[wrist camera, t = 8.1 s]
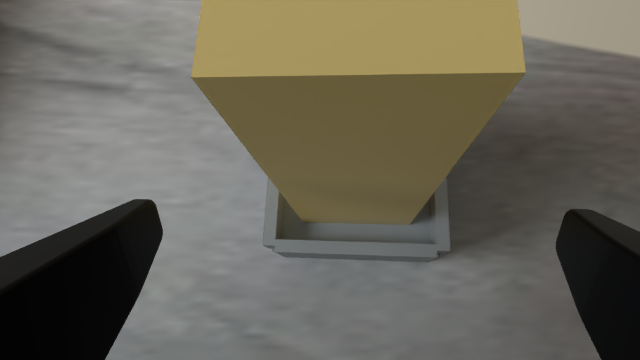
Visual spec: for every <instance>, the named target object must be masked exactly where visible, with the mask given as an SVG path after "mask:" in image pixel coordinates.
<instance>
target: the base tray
mask: <svg viewBox="0 0 640 360" xmlns="http://www.w3.org/2000/svg"><path fill="white" fill-rule="evenodd" d="M263 246H265V247H267V248H271V249H272V251H274V252H276V253H278V254H280V255H282V256H284V257H300V258H328V259H357V260H386V261H415V262H429V261H431V260H433V259H436V258H438V257H440V254H445V253H448V252H450V230H449V210H448V189H447V176H446V177H445V179H444V180H443V181H442V183H441V184H440V185H439V187H438V188H437V189H436V191H435V192H434V193H433V194H432V196H431V197H430V198H429V200H428V201H427V202H426V204H425V205H424V206H423V208H422V209H421V210H420V212H419V213H418V214H417V215H416V217H415V218H414V219H413V221H412V222H411V223H410V225H390V224H346V223H303V221H302V220H301V219H300V217H299V216H298V215H297V214H296V212H295V211H294V210H293V208H292V207H291V206H290V204H289V203H288V202H287V201H286V199H285V198H284V197H283V195H282V194H281V193H280V192H279V190H278V189H277V188H276V186H275V185H274V184H273V182H272V181H271V180H270V179H269V177H268V183H267V196H266V208H265V221H264V233H263Z"/></svg>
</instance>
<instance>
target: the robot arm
mask: <svg viewBox="0 0 640 360" xmlns="http://www.w3.org/2000/svg"><path fill="white" fill-rule="evenodd" d="M162 236H163V229H162V225H161V222H160V218H159V214H158V211H157V207H156V204H155V203H154V202H153V201H152V200H149V199H135V200H132V201H129V202H127V203H125V204H122V205H120V206H118V207H115V208H113V209H111V210H108V211H106V212H104V213H101V214H99V215H97V216H95V217H92V218H90V219H88V220H85V221H83V222H81V223H78V224H76V225H74V226H71V227H69V228H67V229H64V230H62V231H60V232H57V233H55V234H53V235H51V236H48V237H46V238H44V239H41V240H39V241H37V242H34V243H32V244H30V245H27V246H25V247H23V248H20V249H18V250H16V251H13V252H11V253H9V254H7V255H4V256H2V257H0V360H105V359H106V357H107V355H108V353H109V351H110V349H111V347H112V345H113V344H114V342H115V340H116V338H117V336H118V334H119V332H120V330H121V329H122V327H123V325H124V323H125V321H126V319H127V317H128V315H129V314H130V312H131V310H132V308H133V306H134V304H135V302H136V300H137V298H138V296H139V294H140V292H141V290H142V287H143V285H144V282H145V280H146V277H147V275H148V273H149V270H150V268H151V265H152V263H153V260H154V258H155V255H156V253H157V250H158V248H159V245H160V243H161V240H162ZM556 252H557V255H558V258H559V260H560V263H561V266H562V269H563V271H564V274H565V277H566V280H567V282H568V285H569V288H570V291H571V294H572V296H573V299H574V302H575V305H576V307H577V310H578V312H579V315H580V317H581V319H582V321H583V323H584V325H585V328H586V330H587V332H588V334H589V336H590V338H591V340H592V342H593V344H594V346H595V348H596V350H597V352H598V354H599V356H600V358H601V360H640V232H639V231H637V230H634V229H632V228H630V227H628V226H626V225H623V224H621V223H619V222H617V221H615V220H612V219H610V218H608V217H606V216H604V215H602V214H599V213H597V212H595V211H593V210H588V209H570V210H568V211H567V212H566V213H565V215H564V218H563V221H562V224H561V227H560V231H559V234H558V237H557V240H556Z"/></svg>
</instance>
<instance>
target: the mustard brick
mask: <svg viewBox="0 0 640 360" xmlns="http://www.w3.org/2000/svg"><path fill="white" fill-rule="evenodd" d="M525 73H526V71H525V63H524V54H523V45H522V37H521V28H520V20H519V11H518V3H517V0H202V5H201V12H200V19H199V26H198V33H197V40H196V47H195V54H194V61H193V68H192V75H191V78H192V79H193V80H194V82H195V83H196V84H197V85H198V87H199V88H200V89H201V91H202V92H203V93H204V95H205V96H206V97H207V98H208V100H209V101H210V102H211V104H212V105H213V106H214V107H215V109H216V110H217V111H218V113H219V114H220V115H221V117H222V118H223V119H224V120H225V122H226V123H227V124H228V126H229V127H230V128H231V129H232V131H233V132H234V133H235V135H236V136H237V137H238V139H239V140H240V141H241V142H242V144H243V145H244V146H245V148H246V149H247V150H248V151H249V153H250V154H251V155H252V157H253V158H254V159H255V160H256V162H257V163H258V164H259V166H260V167H261V168H262V170H263V171H264V172H265V173H266V175H267V176H268V177H269V179H270V180H271V181H272V182H273V184H274V185H275V186H276V188H277V189H278V190H279V192H280V193H281V194H282V195H283V197H284V198H285V199H286V201H287V202H288V203H289V204H290V206H291V207H292V208H293V210H294V211H295V212H296V214H297V215H298V216H299V217H300V219H301V220H302V221H303V223H346V224H390V225H410V223H411V222H412V221H413V219H414V218H415V217H416V215H417V214H418V213H419V212H420V210H421V209H422V208H423V206H424V205H425V204H426V202H427V201H428V200H429V198H430V197H431V196H432V194H433V193H434V192H435V191H436V189H437V188H438V187H439V185H440V184H441V183H442V181H443V180H444V179H445V177H446V176H447V175H448V174H449V172H450V171H451V170H452V168H453V167H454V166H455V164H456V163H457V162H458V160H459V159H460V158H461V157H462V155H463V154H464V153H465V151H466V150H467V149H468V147H469V146H470V145H471V143H472V142H473V141H474V139H475V138H476V137H477V136H478V134H479V133H480V132H481V130H482V129H483V128H484V126H485V125H486V124H487V122H488V121H489V120H490V119H491V117H492V116H493V115H494V113H495V112H496V111H497V109H498V108H499V107H500V105H501V104H502V103H503V101H504V100H505V99H506V98H507V96H508V95H509V94H510V92H511V91H512V90H513V88H514V87H515V86H516V84H517V83H518V82H519V81H520V79H521V78H522V77H523V75H524V74H525Z"/></svg>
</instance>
